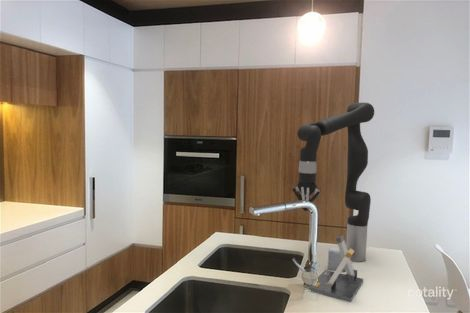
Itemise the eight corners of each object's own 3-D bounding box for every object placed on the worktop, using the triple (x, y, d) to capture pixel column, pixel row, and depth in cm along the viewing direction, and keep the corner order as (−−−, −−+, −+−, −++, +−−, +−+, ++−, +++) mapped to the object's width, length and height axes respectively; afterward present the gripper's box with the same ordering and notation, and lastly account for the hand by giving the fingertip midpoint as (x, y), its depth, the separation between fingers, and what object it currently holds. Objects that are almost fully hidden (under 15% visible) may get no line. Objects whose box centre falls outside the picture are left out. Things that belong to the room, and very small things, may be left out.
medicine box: (345, 268, 161) (346, 249, 160) (346, 272, 157) (347, 253, 156) (327, 266, 163) (328, 247, 163) (327, 269, 159) (328, 251, 158)
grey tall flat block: (351, 276, 148) (338, 235, 150) (356, 276, 147) (343, 234, 149) (348, 280, 144) (335, 238, 146) (353, 280, 143) (340, 237, 145)
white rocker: (327, 282, 140) (350, 247, 135) (332, 286, 139) (355, 251, 134) (324, 287, 136) (346, 251, 131) (329, 290, 135) (352, 255, 130)
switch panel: (325, 273, 155) (325, 263, 155) (363, 282, 147) (363, 271, 147) (309, 290, 138) (309, 279, 138) (350, 302, 130) (351, 290, 130)
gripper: (325, 171, 154) (323, 211, 155) (296, 169, 161) (295, 206, 162) (319, 173, 147) (317, 214, 149) (289, 170, 154) (288, 210, 156)
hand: (305, 210), depth 156 cm, fingers closed
